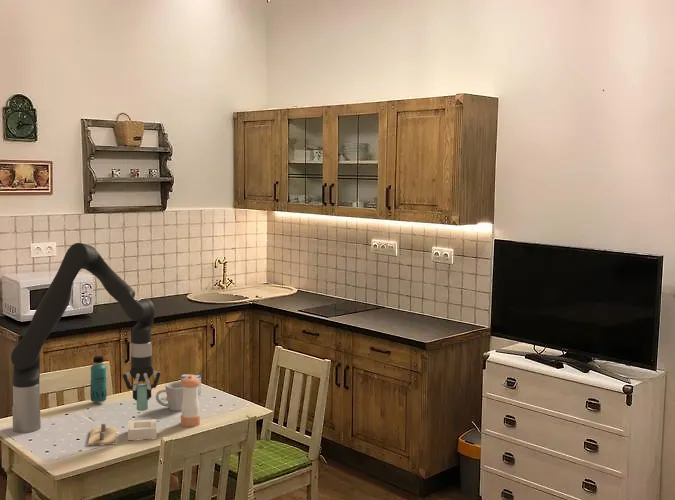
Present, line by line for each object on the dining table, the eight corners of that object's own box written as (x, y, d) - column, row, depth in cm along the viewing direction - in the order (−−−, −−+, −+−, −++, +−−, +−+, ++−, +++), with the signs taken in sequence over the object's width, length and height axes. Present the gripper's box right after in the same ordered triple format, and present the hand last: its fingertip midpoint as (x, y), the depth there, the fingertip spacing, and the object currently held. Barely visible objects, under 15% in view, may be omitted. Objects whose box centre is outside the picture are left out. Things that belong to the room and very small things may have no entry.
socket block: (127, 440, 270) (127, 430, 270) (128, 431, 280) (128, 420, 279) (156, 438, 272) (156, 428, 272) (156, 429, 282) (156, 419, 282)
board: (88, 446, 264) (88, 436, 264) (91, 431, 279) (91, 422, 278) (114, 444, 267) (114, 434, 266) (116, 429, 281) (116, 420, 281)
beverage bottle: (87, 403, 311) (86, 356, 309) (102, 399, 316) (101, 353, 314) (95, 406, 307) (94, 359, 304) (110, 403, 311) (109, 356, 309)
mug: (195, 409, 306) (195, 385, 305) (160, 415, 297) (160, 391, 296) (185, 402, 314) (185, 379, 313) (151, 408, 306) (150, 384, 305)
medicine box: (180, 395, 324) (180, 376, 323) (184, 392, 328) (183, 373, 327) (197, 397, 322) (197, 377, 321) (201, 393, 327) (201, 374, 326)
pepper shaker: (199, 426, 286) (199, 378, 284) (180, 427, 285) (180, 378, 283) (200, 420, 293) (200, 372, 291) (181, 420, 292) (181, 373, 290)
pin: (136, 411, 273) (136, 387, 272) (136, 407, 276) (136, 384, 275) (147, 410, 274) (147, 386, 273) (147, 406, 277) (147, 383, 276)
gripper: (161, 350, 278) (161, 395, 280) (121, 352, 275) (122, 397, 276) (161, 355, 271) (162, 401, 273) (120, 357, 267) (121, 403, 269)
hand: (142, 399), depth 275 cm, fingers closed on pin, 4 cm apart
